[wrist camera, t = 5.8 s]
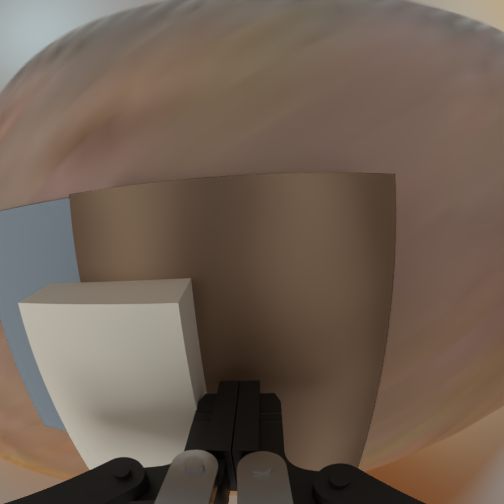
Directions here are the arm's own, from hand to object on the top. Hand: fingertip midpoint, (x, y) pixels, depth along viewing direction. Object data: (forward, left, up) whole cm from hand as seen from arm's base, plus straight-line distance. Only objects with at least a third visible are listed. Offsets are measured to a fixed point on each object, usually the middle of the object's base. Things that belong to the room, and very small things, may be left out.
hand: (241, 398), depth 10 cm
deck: (0, 0, -5) cm, 5 cm away
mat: (+11, 0, -5) cm, 12 cm away
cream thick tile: (+4, 0, -1) cm, 5 cm away
